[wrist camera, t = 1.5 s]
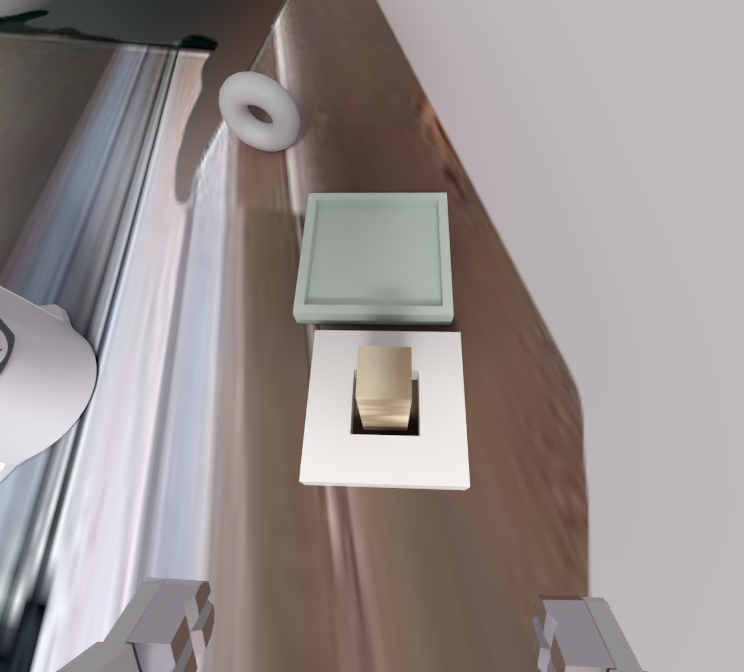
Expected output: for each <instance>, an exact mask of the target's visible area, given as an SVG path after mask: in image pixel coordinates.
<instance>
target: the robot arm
mask: <svg viewBox="0 0 744 672" xmlns="http://www.w3.org/2000/svg"><path fill="white" fill-rule="evenodd" d="M96 372H97V367H96V359H95V355H94V352H93V350H92V348H91V346H90V344H89V343H88V342H87V340H86V339H85V338H84V337H83V336H81V335H80V334H79V333H78V332H76V331H75V330H74V329H73V327H72V326H71V323H70V320H69V317H68V314H67V312H66V311H65V310H64V309H63V308H61V307H59V306H57V305H55V304H48V305H42V306H37V305H35V304H33V303H31V302H30V301H28V300H26V299H24V298H22V297H20V296H18V295H17V294H15V293H13V292H11V291H9V290H7V289H5V288H3V287H2V286H0V482H1V481H2V480H3V479H4V478H5V477H6V476H7V475H8V474H9V473H10V472H11V471H12V470H13V469H14V468H15V467H16V466H17V465H19V464H20V463H21V462H23V461H25V460H26V459H28V458H30V457H32V456H34V455H36V454H37V453H39V452H41V451H43V450H44V449H46V448H47V447H49V446H50V445H52V444H53V443H54V442H56V441H57V440H58V439H59V438H61V437H62V436H63V435H64V434H65V433H66V432H67V431H68V430H69V429H70V428H71V427H72V426H73V424H74V423H75V422H76V421H77V419H78V418H79V417H80V415H81V414H82V412H83V411H84V409H85V407H86V406H87V404H88V402H89V399H90V397H91V395H92V392H93V389H94V385H95V381H96ZM210 592H211V591H210V587H209V582H206V581H194V580H181V579H167V578H147V579H146V580H145V581H144V582H143V583H142V584H141V585H140V587H139V588H138V590H137V591H136V593H135V594H134V596H133V597H132V599H131V600H130V602H129V603H128V605H127V606H126V608H125V609H124V611H123V613H122V614H121V616H120V617H119V619H118V620H117V622H116V623H115V625H114V626H113V628H112V629H111V631H110V632H109V634H108V635H107V637H106V638H105V640H104V641H103V642H96V643H95V644H94V645H92V646H91V647H89V648H88V649H87V650H85V651H84V652H83V653H81V654H80V655H79V656H77V657H76V658H75V659H73V660H72V661H70V662H69V663H68V664H66V665H65V666H64V667H62V668H61V669H60V670H58V671H57V672H196V670H197V664H196V659H195V658H196V657H197V656H198V655H199V654H200V653H201V652H202V651H204V650H205V649H206V647H207V644H208V642H209V639H210V637H211V633H212V629H213V624H214V607H213V604H212V603H211V602H210V601H209V600H208V599H207V598H208V596H209V594H210ZM534 607H535V610H536V613H537V616H536V617H535V618H534V619H533V620H532V627H531V637H532V646H533V651H534V656H535V659H536V663H537V667H538V668H539V669H540V670H541V671H542V672H646V671H642V669H641V667H640V665H639V663H638V661H637V659H636V657H635V655H634V653H633V652H632V649H631V648H630V646H629V644H628V642H627V640H626V638H625V636H624V634H623V632H622V630H621V628H620V626H619V624H618V622H617V620H616V619H615V617H614V615H613V613H612V611H611V609H610V607H609V605H608V603H607V602H606V601H605V600H604V599H603V598H593V597H579V596H549V595H538V596H537V597H536V600H535V606H534Z"/></svg>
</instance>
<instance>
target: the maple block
mask: <svg viewBox="0 0 744 672" xmlns="http://www.w3.org/2000/svg"><path fill="white" fill-rule="evenodd" d="M356 401H357V405H358V409H359V413H360V417H361V421H362V425H363V428H364V430H392V431H407V428H408V421H409V414H410V408H411V401H412V347H384V346H358V362H357V380H356Z"/></svg>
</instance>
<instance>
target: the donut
mask: <svg viewBox="0 0 744 672" xmlns="http://www.w3.org/2000/svg"><path fill="white" fill-rule="evenodd" d="M248 105H255V106H258V107H260V108H262V109H264V110H265V111H266V112H267V113H268V114H269V115H270V117H271V118H272V120H273V123H264V122H261V121H260V120H258V119H256V118H255V117H254V116H253V115H252V114H251V113H250V111H249V109H248ZM219 107H220V111H221V115H222V117H223V119H224V121H225V122H226V124H227V126H228V127H229V128H230V130H231V131H232V132H233V133H234V134H235V135H236V136H237V137H238V138H239V139H241V140H242V141H243V142H245V143H246V144H248V145H250V146H252V147H254V148H256V149H259V150H263V151H267V152H278V151H281V150H284V149H287V148H289V147H290V146H291V145H292V144H293V143H294V142H295V141H296V139H297V137H298V134H299V131H300V115H299V112H298V109H297V106H296V104H295V102H294V100H293V99H292V97H291V96H290V95H289V93H288V92H287V91H286V90H285V89H284V88H283V87H282V86H281V85H280V84H279V83H277V82H276V81H275V80H273V79H271V78H269V77H267V76H266V75H263V74H260V73H256V72H252V71H249V72H238V73H236V74H234V75H232V76H230V77H228V78H227V79H226V81H225V82H224V84H223V85H222V87H221V89H220V94H219Z"/></svg>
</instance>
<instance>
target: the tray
mask: <svg viewBox="0 0 744 672" xmlns="http://www.w3.org/2000/svg"><path fill="white" fill-rule="evenodd" d="M293 315H294V317H295V320H296V322H297V323H311V324H385V325H451V323H452V319H453V316H454V313H453V295H452V278H451V260H450V242H449V224H448V206H447V193H309V195H308V203H307V210H306V218H305V225H304V233H303V240H302V248H301V255H300V263H299V270H298V278H297V285H296V293H295V300H294V308H293Z"/></svg>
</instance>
